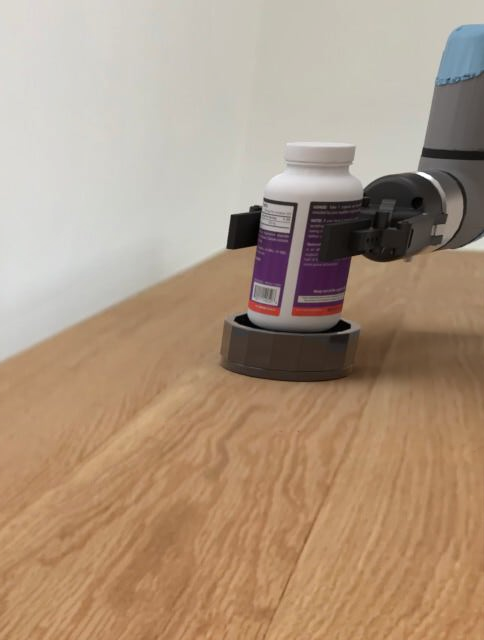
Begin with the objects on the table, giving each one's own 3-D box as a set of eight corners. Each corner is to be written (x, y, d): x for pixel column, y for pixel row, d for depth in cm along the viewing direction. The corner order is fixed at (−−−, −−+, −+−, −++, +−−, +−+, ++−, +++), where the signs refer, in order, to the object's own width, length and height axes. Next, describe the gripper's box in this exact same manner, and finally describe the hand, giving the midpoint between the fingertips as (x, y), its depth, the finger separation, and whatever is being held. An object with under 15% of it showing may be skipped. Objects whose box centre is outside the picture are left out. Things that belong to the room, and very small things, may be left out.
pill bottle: (343, 322, 101) (378, 142, 93) (331, 339, 94) (368, 148, 87) (253, 314, 103) (280, 139, 96) (236, 330, 97) (263, 144, 90)
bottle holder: (351, 357, 104) (360, 315, 102) (351, 385, 94) (361, 339, 92) (225, 348, 107) (231, 306, 105) (213, 375, 97) (219, 329, 95)
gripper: (503, 272, 101) (385, 303, 88) (298, 247, 114) (168, 270, 100) (527, 180, 97) (407, 198, 84) (312, 165, 110) (178, 178, 96)
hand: (277, 237), depth 92 cm, fingers closed on pill bottle, 8 cm apart
